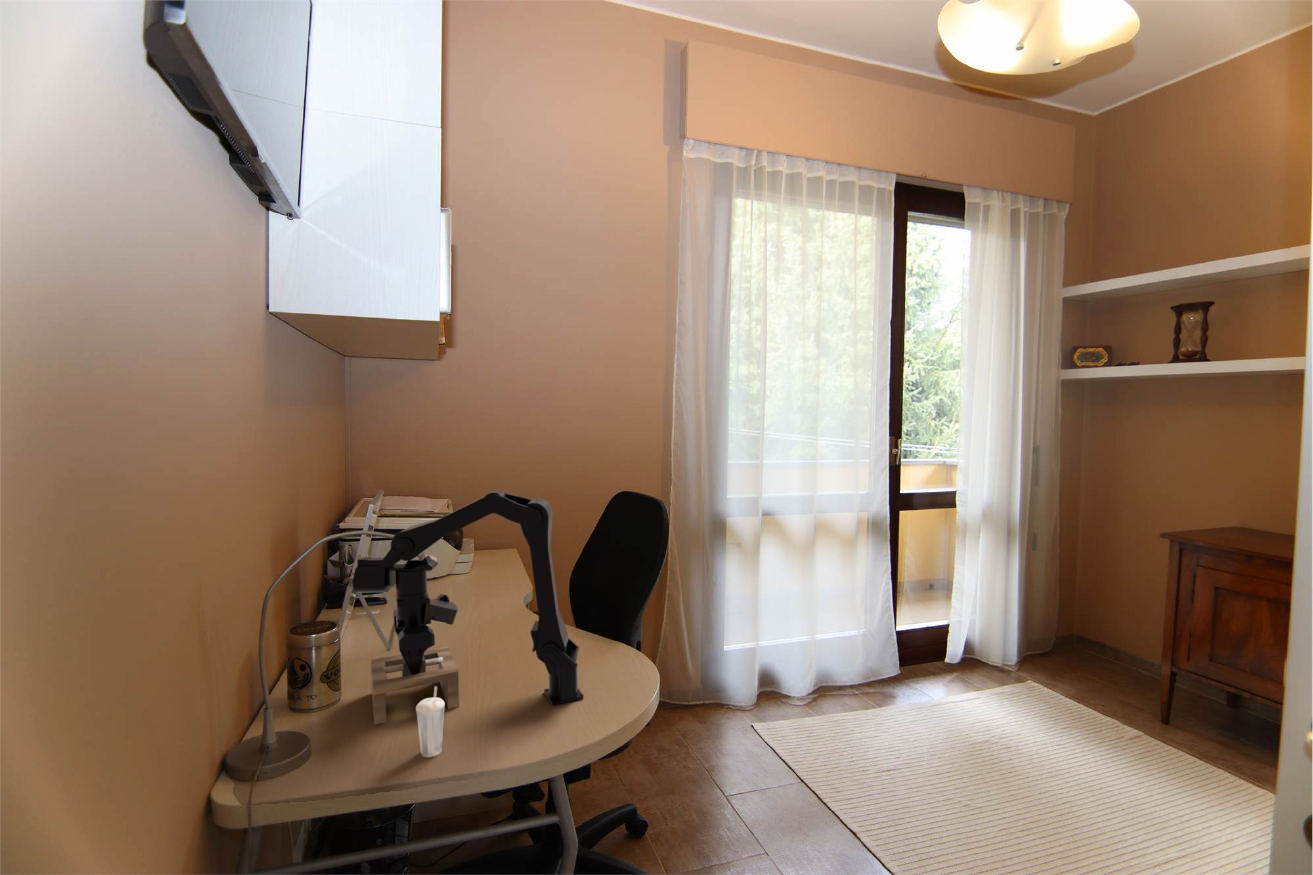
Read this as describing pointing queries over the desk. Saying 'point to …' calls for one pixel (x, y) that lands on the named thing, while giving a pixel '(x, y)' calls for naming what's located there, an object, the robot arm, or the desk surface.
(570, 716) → the desk surface
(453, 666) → the shelf
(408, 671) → the grey slotted box
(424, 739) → the milkshake
